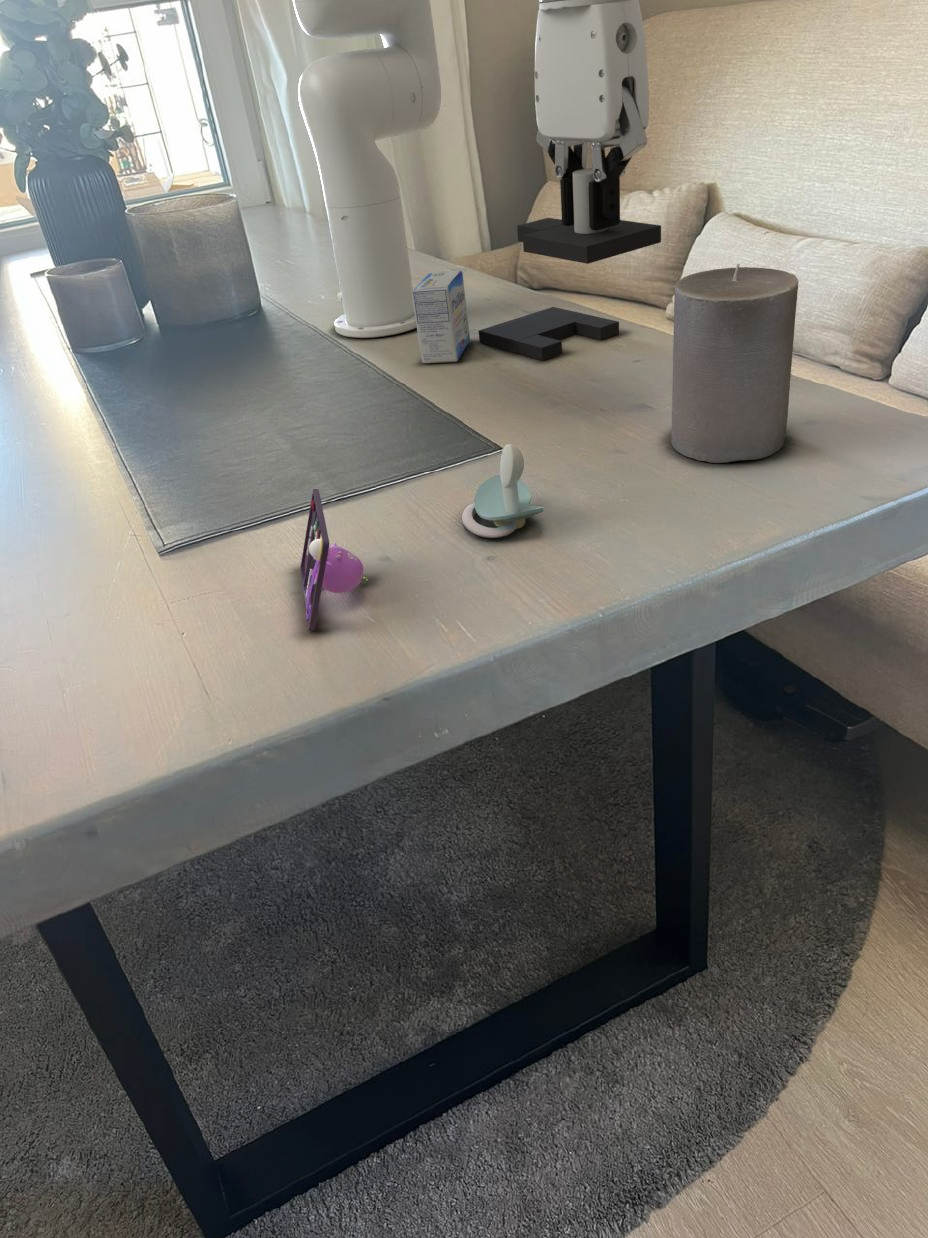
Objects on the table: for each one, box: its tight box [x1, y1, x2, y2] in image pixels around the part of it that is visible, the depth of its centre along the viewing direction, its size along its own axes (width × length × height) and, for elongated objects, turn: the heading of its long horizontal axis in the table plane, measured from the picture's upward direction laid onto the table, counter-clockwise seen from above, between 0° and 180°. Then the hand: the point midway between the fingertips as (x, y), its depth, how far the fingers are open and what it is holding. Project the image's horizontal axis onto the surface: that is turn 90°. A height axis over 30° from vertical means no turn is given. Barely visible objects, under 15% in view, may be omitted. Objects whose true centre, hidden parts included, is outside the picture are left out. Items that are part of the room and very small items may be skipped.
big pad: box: [478, 306, 620, 361], centre depth 113 cm, size 12×12×2 cm
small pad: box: [516, 167, 662, 265], centre depth 87 cm, size 13×9×6 cm
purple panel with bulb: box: [299, 488, 369, 632], centre depth 66 cm, size 7×5×9 cm
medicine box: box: [412, 270, 471, 364], centre depth 111 cm, size 8×4×9 cm, turn 168°
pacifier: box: [461, 443, 544, 539], centre depth 72 cm, size 7×6×6 cm
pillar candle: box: [670, 263, 799, 464], centre depth 78 cm, size 10×10×15 cm
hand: (590, 222), depth 86 cm, fingers closed on small pad, 3 cm apart
